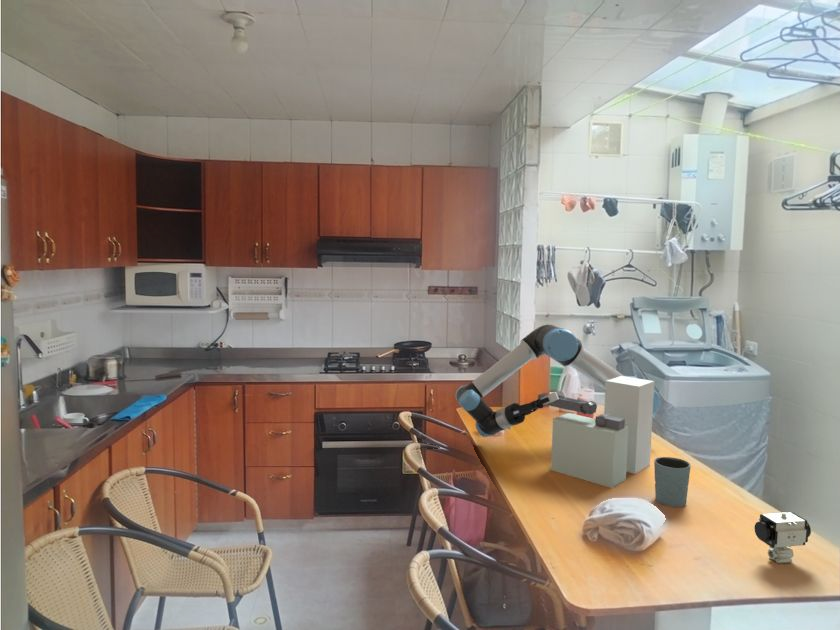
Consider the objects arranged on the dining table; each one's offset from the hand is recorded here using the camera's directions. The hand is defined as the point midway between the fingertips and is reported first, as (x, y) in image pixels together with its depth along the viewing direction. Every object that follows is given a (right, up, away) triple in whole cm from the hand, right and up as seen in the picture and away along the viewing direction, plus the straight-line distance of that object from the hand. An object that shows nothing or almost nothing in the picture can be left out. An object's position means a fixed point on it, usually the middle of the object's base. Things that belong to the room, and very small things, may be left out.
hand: (560, 394), depth 204 cm
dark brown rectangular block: (+2, -4, -1) cm, 5 cm away
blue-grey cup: (+27, -29, -25) cm, 47 cm away
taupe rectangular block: (+24, -25, +4) cm, 35 cm away
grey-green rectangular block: (+8, -26, -5) cm, 28 cm away
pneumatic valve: (+39, -33, -60) cm, 79 cm away
